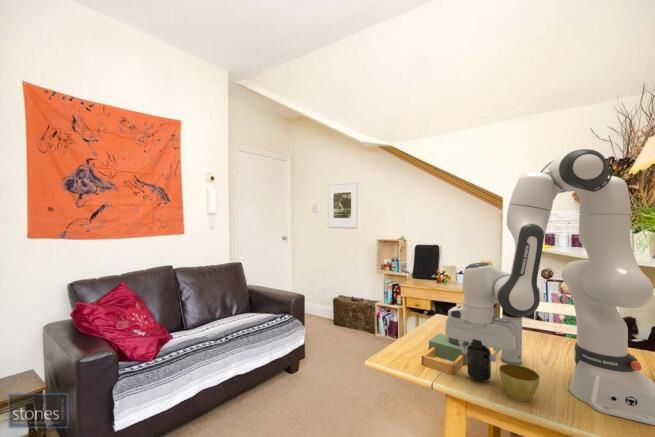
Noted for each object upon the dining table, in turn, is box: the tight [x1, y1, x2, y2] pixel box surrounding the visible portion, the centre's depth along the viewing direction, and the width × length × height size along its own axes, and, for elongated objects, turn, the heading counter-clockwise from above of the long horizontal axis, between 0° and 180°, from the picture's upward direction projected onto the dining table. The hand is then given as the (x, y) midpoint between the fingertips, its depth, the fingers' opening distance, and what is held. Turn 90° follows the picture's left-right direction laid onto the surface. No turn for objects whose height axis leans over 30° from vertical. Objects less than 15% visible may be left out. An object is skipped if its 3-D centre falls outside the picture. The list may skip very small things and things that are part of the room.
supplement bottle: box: [466, 339, 492, 382], centre depth 100 cm, size 7×7×12 cm
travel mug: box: [500, 308, 523, 366], centre depth 113 cm, size 6×7×20 cm
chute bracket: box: [421, 347, 464, 376], centre depth 110 cm, size 11×10×3 cm
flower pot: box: [498, 363, 541, 402], centre depth 91 cm, size 10×10×7 cm
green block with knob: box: [428, 333, 471, 366], centre depth 118 cm, size 14×10×10 cm
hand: (478, 357), depth 100 cm, fingers closed on supplement bottle, 7 cm apart
